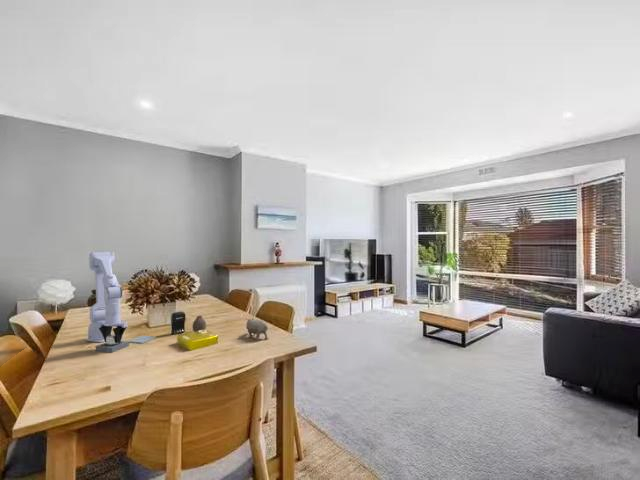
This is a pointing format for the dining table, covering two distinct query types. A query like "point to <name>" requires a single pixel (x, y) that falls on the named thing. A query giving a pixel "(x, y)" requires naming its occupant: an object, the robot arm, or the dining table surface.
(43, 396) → the dining table surface
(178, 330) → the battery charger
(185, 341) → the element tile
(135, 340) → the mat
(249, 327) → the rhinoceros figurine
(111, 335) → the shiny metal cylinder
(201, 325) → the vase
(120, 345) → the frame
